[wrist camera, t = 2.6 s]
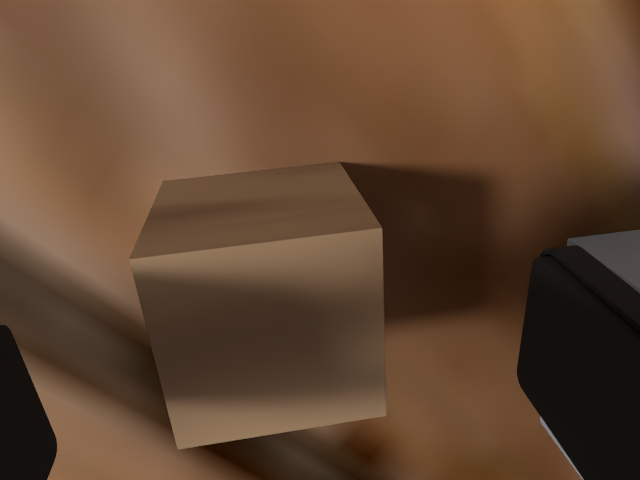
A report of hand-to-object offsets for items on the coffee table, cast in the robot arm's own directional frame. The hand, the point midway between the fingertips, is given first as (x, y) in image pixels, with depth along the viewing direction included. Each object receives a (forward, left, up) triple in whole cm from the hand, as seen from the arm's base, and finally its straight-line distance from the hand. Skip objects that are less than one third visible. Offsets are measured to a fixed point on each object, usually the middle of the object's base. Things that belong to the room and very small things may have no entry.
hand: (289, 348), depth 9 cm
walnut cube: (-1, 0, -7) cm, 7 cm away
